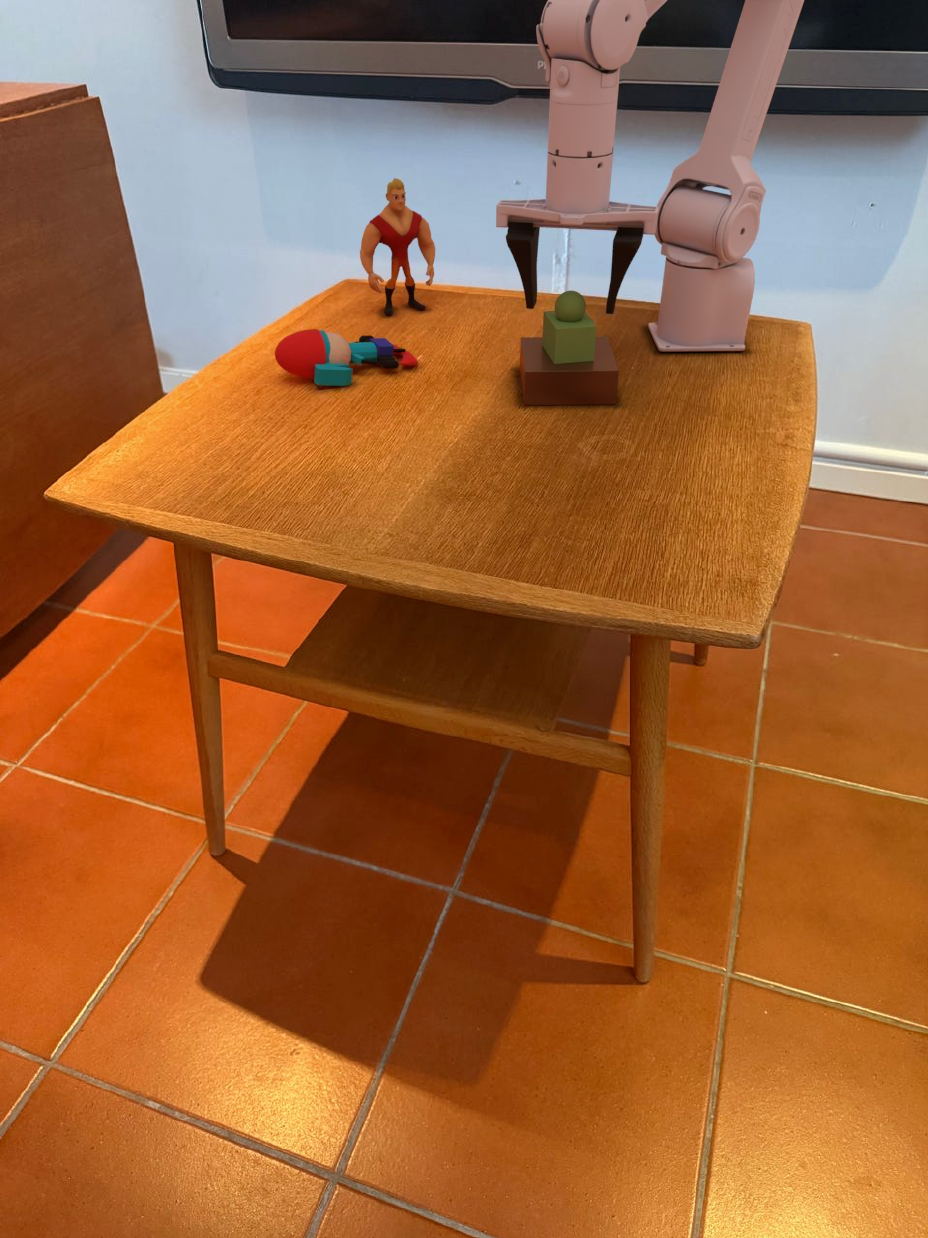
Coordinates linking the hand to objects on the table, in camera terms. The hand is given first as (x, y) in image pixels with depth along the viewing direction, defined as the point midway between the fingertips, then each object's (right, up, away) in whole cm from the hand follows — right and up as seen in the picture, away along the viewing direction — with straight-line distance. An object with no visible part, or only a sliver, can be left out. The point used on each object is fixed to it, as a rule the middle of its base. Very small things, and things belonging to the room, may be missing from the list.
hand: (570, 307), depth 85 cm
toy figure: (-23, -4, +9) cm, 25 cm away
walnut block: (0, -6, +5) cm, 8 cm away
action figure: (-18, +8, +24) cm, 31 cm away
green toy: (0, -4, +3) cm, 5 cm away
